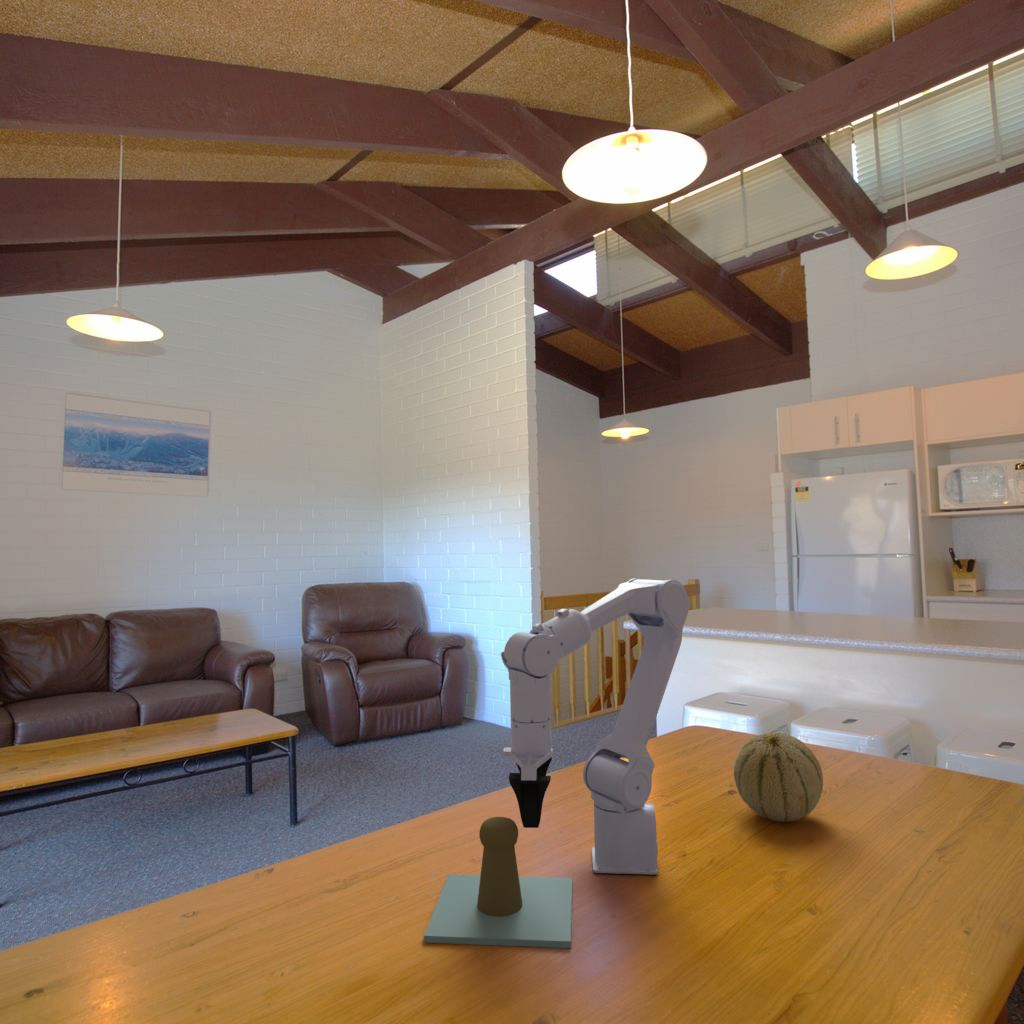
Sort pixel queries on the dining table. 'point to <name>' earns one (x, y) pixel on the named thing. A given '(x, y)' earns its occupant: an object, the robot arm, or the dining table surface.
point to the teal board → (530, 926)
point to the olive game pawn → (499, 868)
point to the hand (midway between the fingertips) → (532, 815)
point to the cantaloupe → (778, 777)
